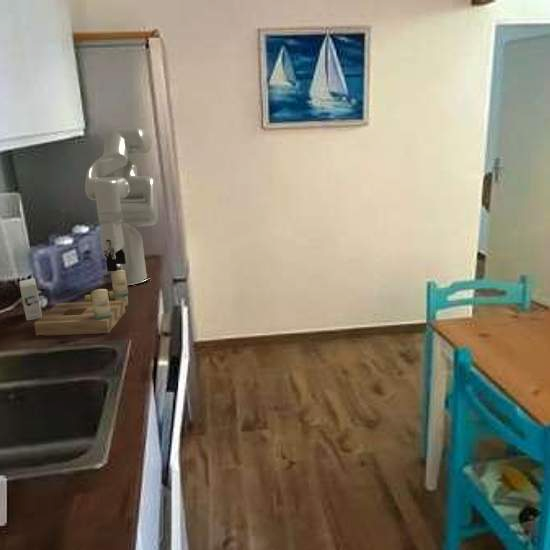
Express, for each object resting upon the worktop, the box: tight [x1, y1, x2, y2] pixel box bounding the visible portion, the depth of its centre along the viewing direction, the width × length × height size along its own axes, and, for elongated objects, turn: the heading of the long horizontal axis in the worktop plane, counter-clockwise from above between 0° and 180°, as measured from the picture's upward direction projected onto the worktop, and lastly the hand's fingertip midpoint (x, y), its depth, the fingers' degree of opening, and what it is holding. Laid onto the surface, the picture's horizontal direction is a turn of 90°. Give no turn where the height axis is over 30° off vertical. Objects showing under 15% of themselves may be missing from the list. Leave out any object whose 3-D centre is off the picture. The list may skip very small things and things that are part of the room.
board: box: [33, 288, 126, 337], centre depth 163 cm, size 18×22×12 cm
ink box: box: [19, 278, 43, 321], centre depth 172 cm, size 8×5×12 cm, turn 27°
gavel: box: [84, 286, 116, 302], centre depth 188 cm, size 21×5×10 cm
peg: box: [110, 269, 129, 307], centre depth 178 cm, size 5×5×12 cm
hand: (116, 267), depth 175 cm, fingers open, 9 cm apart
